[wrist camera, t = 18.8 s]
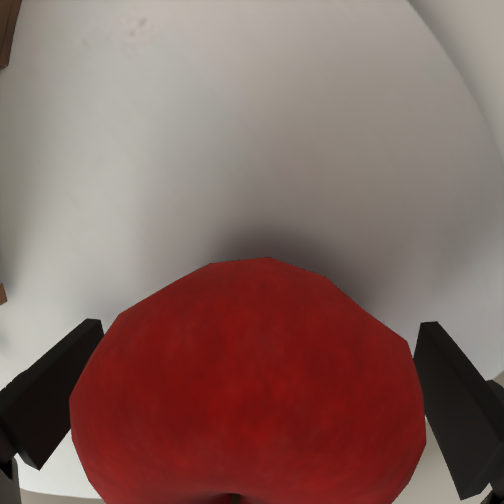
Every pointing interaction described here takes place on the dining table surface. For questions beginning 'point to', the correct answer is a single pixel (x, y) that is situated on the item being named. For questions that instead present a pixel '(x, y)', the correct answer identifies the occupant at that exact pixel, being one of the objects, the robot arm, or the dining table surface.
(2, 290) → the drawer
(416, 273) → the dining table surface
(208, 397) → the apple
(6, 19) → the cabinet
